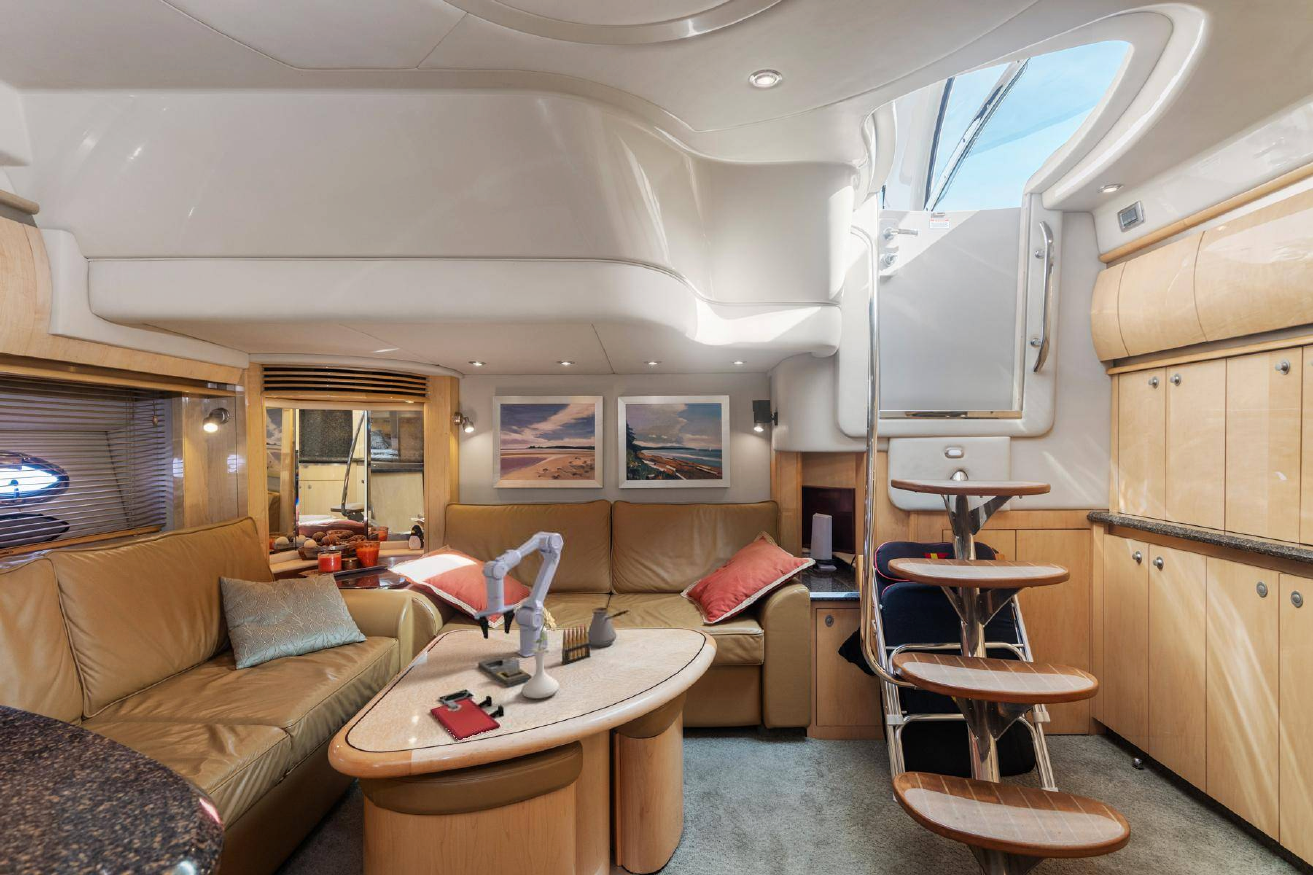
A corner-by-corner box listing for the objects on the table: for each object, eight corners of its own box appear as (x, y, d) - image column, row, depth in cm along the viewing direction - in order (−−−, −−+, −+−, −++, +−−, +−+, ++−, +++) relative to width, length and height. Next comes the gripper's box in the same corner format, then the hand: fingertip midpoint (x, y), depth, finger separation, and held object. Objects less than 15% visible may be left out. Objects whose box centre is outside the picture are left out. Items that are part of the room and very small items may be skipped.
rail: (500, 661, 210) (500, 656, 211) (531, 680, 192) (531, 675, 192) (478, 667, 206) (478, 662, 206) (508, 687, 187) (508, 682, 187)
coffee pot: (579, 644, 225) (578, 604, 226) (602, 636, 234) (601, 598, 234) (619, 656, 211) (617, 614, 211) (641, 648, 219) (640, 606, 220)
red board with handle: (472, 690, 186) (422, 705, 177) (471, 681, 186) (422, 696, 177) (513, 725, 162) (458, 744, 153) (512, 714, 162) (457, 733, 153)
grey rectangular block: (514, 675, 197) (513, 657, 197) (519, 678, 194) (519, 660, 194) (503, 678, 195) (502, 660, 195) (508, 682, 191) (507, 663, 191)
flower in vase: (547, 704, 174) (544, 617, 174) (513, 699, 178) (511, 615, 178) (569, 686, 186) (566, 605, 186) (537, 682, 190) (534, 603, 190)
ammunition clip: (587, 655, 213) (585, 622, 213) (590, 657, 212) (589, 623, 212) (561, 664, 206) (560, 629, 206) (565, 665, 204) (563, 630, 205)
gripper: (479, 602, 200) (480, 643, 200) (519, 594, 209) (521, 633, 209) (471, 598, 206) (472, 638, 206) (511, 591, 215) (512, 629, 215)
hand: (496, 635), depth 208 cm, fingers open, 7 cm apart
